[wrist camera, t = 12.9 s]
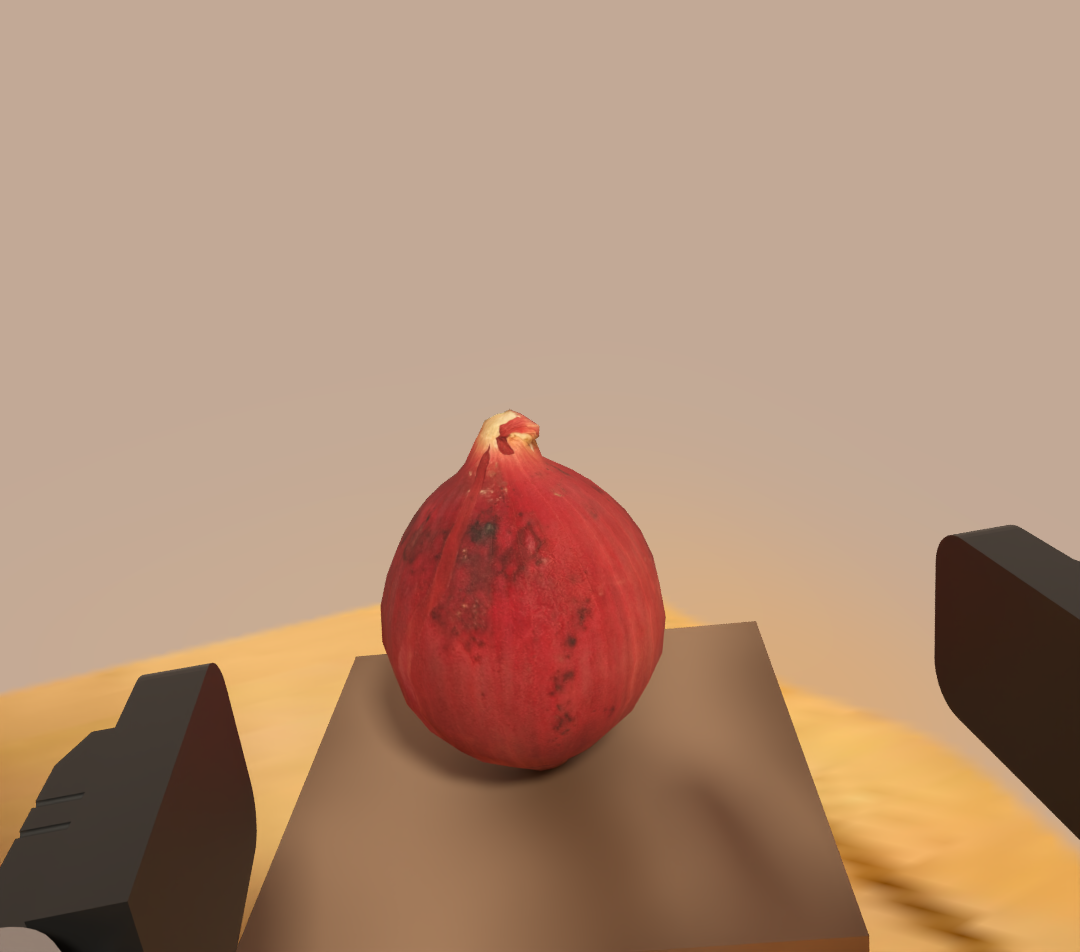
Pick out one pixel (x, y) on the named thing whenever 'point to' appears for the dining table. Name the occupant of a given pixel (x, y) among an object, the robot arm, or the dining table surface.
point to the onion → (521, 606)
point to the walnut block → (567, 829)
